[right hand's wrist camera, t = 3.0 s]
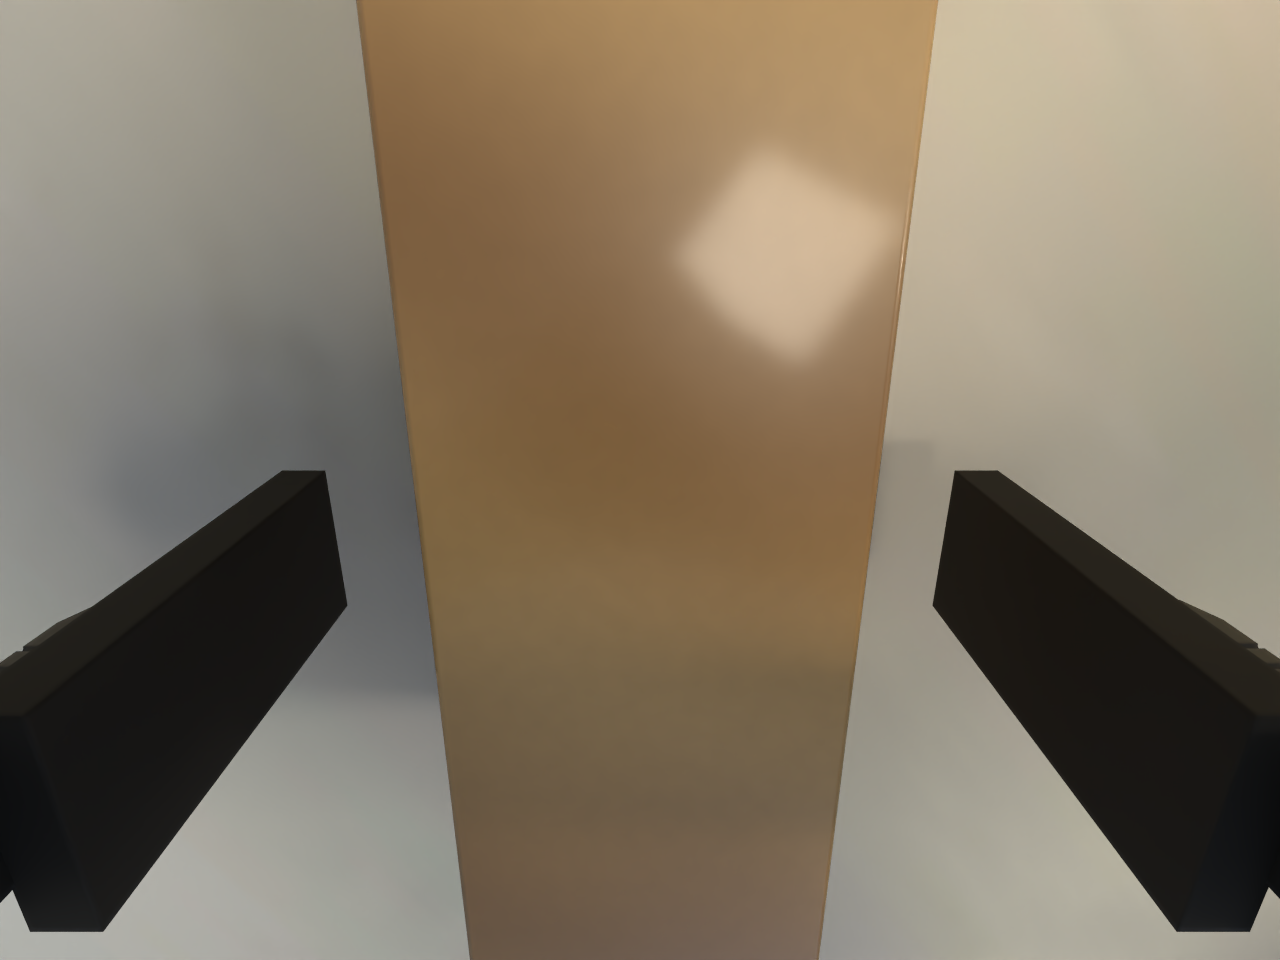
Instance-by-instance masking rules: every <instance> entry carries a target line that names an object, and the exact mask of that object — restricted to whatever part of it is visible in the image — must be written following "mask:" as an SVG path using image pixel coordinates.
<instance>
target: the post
mask: <svg viewBox="0 0 1280 960" xmlns="http://www.w3.org/2000/svg"><path fill="white" fill-rule="evenodd" d="M356 3H357V12H358V20H359V28H360V37H361V45H362V54H363V62H364V70H365V79H366V87H367V96H368V104H369V113H370V121H371V129H372V138H373V146H374V155H375V163H376V172H377V180H378V188H379V197H380V205H381V214H382V222H383V230H384V239H385V247H386V256H387V264H388V273H389V281H390V289H391V298H392V306H393V315H394V323H395V331H396V340H397V348H398V357H399V365H400V374H401V382H402V390H403V399H404V407H405V416H406V424H407V433H408V441H409V449H410V458H411V466H412V475H413V483H414V491H415V500H416V508H417V517H418V525H419V534H420V542H421V550H422V559H423V567H424V576H425V584H426V593H427V601H428V609H429V618H430V626H431V635H432V643H433V651H434V660H435V668H436V677H437V685H438V694H439V702H440V710H441V719H442V727H443V736H444V744H445V752H446V761H447V769H448V778H449V786H450V795H451V803H452V811H453V820H454V828H455V837H456V845H457V854H458V862H459V870H460V879H461V887H462V896H463V904H464V912H465V921H466V929H467V938H468V946H469V955H470V960H819V952H820V944H821V936H822V928H823V920H824V912H825V904H826V896H827V888H828V880H829V872H830V864H831V856H832V848H833V840H834V832H835V824H836V816H837V808H838V800H839V792H840V784H841V776H842V768H843V760H844V751H845V743H846V735H847V727H848V719H849V711H850V703H851V695H852V687H853V679H854V671H855V663H856V655H857V647H858V639H859V631H860V623H861V615H862V607H863V599H864V591H865V583H866V575H867V567H868V559H869V551H870V543H871V535H872V527H873V519H874V511H875V503H876V495H877V487H878V479H879V471H880V463H881V455H882V447H883V439H884V431H885V423H886V415H887V407H888V399H889V391H890V383H891V375H892V367H893V358H894V350H895V342H896V334H897V326H898V318H899V310H900V302H901V294H902V286H903V278H904V270H905V262H906V254H907V246H908V238H909V230H910V222H911V214H912V206H913V198H914V190H915V182H916V174H917V166H918V158H919V150H920V142H921V134H922V126H923V118H924V110H925V102H926V94H927V86H928V78H929V70H930V62H931V54H932V46H933V38H934V30H935V22H936V14H937V6H938V0H356Z"/></svg>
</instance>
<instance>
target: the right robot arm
mask: <svg viewBox="0 0 1280 960" xmlns="http://www.w3.org/2000/svg"><path fill="white" fill-rule="evenodd" d="M346 607H347V600H346V594H345V588H344V582H343V576H342V570H341V564H340V558H339V552H338V546H337V540H336V534H335V528H334V522H333V515H332V509H331V503H330V497H329V491H328V485H327V479H326V473H325V471H281V472H280V473H278V474H277V475H276V476H274V477H273V478H271V479H270V480H269V481H267V482H266V483H264V484H263V485H262V486H260V487H259V488H257V489H256V490H255V491H253V492H252V493H250V494H249V495H248V496H246V497H245V498H243V499H242V500H241V501H239V502H238V503H236V504H235V505H234V506H232V507H231V508H229V509H228V510H227V511H225V512H224V513H222V514H221V515H220V516H218V517H217V518H215V519H214V520H213V521H211V522H210V523H208V524H207V525H206V526H204V527H203V528H201V529H200V530H199V531H197V532H196V533H194V534H193V535H192V536H190V537H189V538H187V539H186V540H185V541H183V542H182V543H180V544H179V545H178V546H176V547H175V548H174V549H172V550H171V551H169V552H168V553H167V554H165V555H164V556H162V557H161V558H160V559H158V560H157V561H155V562H154V563H153V564H151V565H150V566H148V567H147V568H146V569H144V570H143V571H141V572H140V573H139V574H137V575H136V576H134V577H133V578H132V579H130V580H129V581H127V582H126V583H125V584H123V585H122V586H120V587H119V588H118V589H116V590H115V591H113V592H112V593H111V594H109V595H108V596H106V597H105V598H104V599H102V600H101V601H99V602H98V603H97V604H95V605H94V606H92V607H91V608H88V609H86V610H84V611H82V612H80V613H78V614H75V615H73V616H71V617H69V618H67V619H65V620H62V621H60V622H58V623H56V624H55V625H53V626H52V627H51V628H49V629H48V630H46V631H45V632H43V633H42V634H41V635H39V636H38V637H36V638H35V639H33V640H32V641H31V642H29V643H28V644H26V645H25V646H23V651H16V652H15V653H13V654H12V655H11V656H9V657H8V658H6V659H5V660H4V661H2V662H1V663H0V903H1V902H2V900H3V899H4V898H5V897H6V896H7V895H8V894H9V893H10V892H11V891H12V890H13V892H14V894H15V897H16V899H17V902H18V904H19V906H20V909H21V911H22V913H23V916H24V918H25V921H26V923H27V925H28V928H29V930H30V932H103V931H104V930H105V929H106V927H107V926H108V925H109V923H110V922H111V921H112V919H113V918H114V917H115V915H116V914H117V913H118V911H119V910H120V909H121V907H122V906H123V905H124V903H125V902H126V901H127V899H128V898H129V897H130V895H131V894H132V893H133V891H134V890H135V889H136V887H137V886H138V885H139V883H140V882H141V880H142V879H143V878H144V876H145V875H146V874H147V872H148V871H149V870H150V868H151V867H152V866H153V864H154V863H155V862H156V860H157V859H158V858H159V856H160V855H161V854H162V852H163V851H164V850H165V848H166V847H167V846H168V844H169V843H170V842H171V840H172V839H173V838H174V836H175V835H176V834H177V832H178V831H179V830H180V828H181V827H182V826H183V824H184V823H185V822H186V820H187V819H188V818H189V816H190V815H191V814H192V812H193V811H194V810H195V808H196V807H197V806H198V804H199V803H200V802H201V800H202V799H203V798H204V796H205V795H206V794H207V792H208V791H209V790H210V788H211V787H212V786H213V784H214V783H215V782H216V780H217V779H218V778H219V776H220V775H221V774H222V772H223V771H224V770H225V768H226V767H227V766H228V764H229V763H230V762H231V760H232V759H233V758H234V756H235V755H236V754H237V752H238V751H239V750H240V748H241V747H242V746H243V744H244V743H245V742H246V740H247V739H248V738H249V736H250V735H251V734H252V732H253V731H254V730H255V728H256V727H257V726H258V724H259V723H260V722H261V720H262V719H263V718H264V716H265V715H266V714H267V712H268V711H269V710H270V708H271V707H272V706H273V704H274V703H275V702H276V700H277V699H278V698H279V696H280V695H281V693H282V692H283V691H284V689H285V688H286V687H287V685H288V684H289V683H290V681H291V680H292V679H293V677H294V676H295V675H296V673H297V672H298V671H299V669H300V668H301V667H302V665H303V664H304V663H305V661H306V660H307V659H308V657H309V656H310V655H311V653H312V652H313V651H314V649H315V648H316V647H317V645H318V644H319V643H320V641H321V640H322V639H323V637H324V636H325V635H326V633H327V632H328V631H329V629H330V628H331V627H332V625H333V624H334V623H335V621H336V620H337V619H338V617H339V616H340V615H341V613H342V612H343V611H344V609H345V608H346ZM933 607H934V608H935V609H936V611H937V612H938V613H939V615H940V616H941V617H942V619H943V620H944V621H945V623H946V624H947V625H948V627H949V628H950V629H951V631H952V632H953V633H954V635H955V636H956V637H957V639H958V640H959V641H960V643H961V644H962V645H963V647H964V648H965V649H966V651H967V652H968V653H969V655H970V656H971V657H972V659H973V660H974V661H975V663H976V664H977V665H978V667H979V668H980V669H981V671H982V672H983V673H984V675H985V676H986V677H987V679H988V680H989V681H990V683H991V684H992V686H993V687H994V688H995V690H996V691H997V692H998V694H999V695H1000V696H1001V698H1002V699H1003V700H1004V702H1005V703H1006V704H1007V706H1008V707H1009V708H1010V710H1011V711H1012V712H1013V714H1014V715H1015V716H1016V718H1017V719H1018V720H1019V722H1020V723H1021V724H1022V726H1023V727H1024V728H1025V730H1026V731H1027V732H1028V734H1029V735H1030V736H1031V738H1032V739H1033V740H1034V742H1035V743H1036V744H1037V746H1038V747H1039V748H1040V750H1041V751H1042V752H1043V754H1044V755H1045V756H1046V758H1047V759H1048V760H1049V762H1050V763H1051V764H1052V766H1053V767H1054V768H1055V770H1056V771H1057V772H1058V774H1059V775H1060V776H1061V778H1062V779H1063V780H1064V782H1065V783H1066V784H1067V786H1068V787H1069V788H1070V790H1071V791H1072V792H1073V794H1074V795H1075V796H1076V798H1077V799H1078V800H1079V802H1080V803H1081V804H1082V806H1083V807H1084V808H1085V810H1086V811H1087V812H1088V814H1089V815H1090V816H1091V818H1092V819H1093V820H1094V822H1095V823H1096V824H1097V826H1098V827H1099V828H1100V830H1101V831H1102V832H1103V834H1104V835H1105V836H1106V838H1107V839H1108V840H1109V842H1110V843H1111V844H1112V846H1113V847H1114V848H1115V850H1116V851H1117V852H1118V854H1119V855H1120V856H1121V858H1122V859H1123V860H1124V862H1125V863H1126V864H1127V866H1128V867H1129V869H1130V870H1131V871H1132V873H1133V874H1134V875H1135V877H1136V878H1137V879H1138V881H1139V882H1140V883H1141V885H1142V886H1143V887H1144V889H1145V890H1146V891H1147V893H1148V894H1149V895H1150V897H1151V898H1152V899H1153V901H1154V902H1155V903H1156V905H1157V906H1158V907H1159V909H1160V910H1161V911H1162V913H1163V914H1164V915H1165V917H1166V918H1167V919H1168V921H1169V922H1170V923H1171V925H1172V926H1173V927H1174V929H1175V930H1176V931H1177V932H1250V930H1251V928H1252V925H1253V923H1254V921H1255V918H1256V916H1257V913H1258V911H1259V909H1260V906H1261V904H1262V902H1263V899H1264V897H1265V894H1266V892H1267V890H1268V887H1269V888H1270V889H1271V890H1272V891H1273V892H1274V893H1275V894H1276V895H1277V896H1278V897H1279V898H1280V659H1279V658H1277V657H1276V656H1275V655H1273V654H1272V653H1270V652H1269V651H1267V650H1266V649H1259V648H1258V644H1257V643H1256V642H1254V641H1253V640H1252V639H1250V638H1249V637H1247V636H1246V635H1244V634H1243V633H1241V632H1240V631H1239V630H1237V629H1236V628H1234V627H1233V626H1231V625H1230V624H1228V623H1227V622H1226V621H1224V620H1222V619H1220V618H1218V617H1216V616H1214V615H1211V614H1209V613H1207V612H1205V611H1203V610H1200V609H1198V608H1196V607H1194V606H1192V605H1189V604H1187V603H1185V602H1183V601H1181V600H1178V599H1176V598H1175V597H1174V596H1172V595H1171V594H1169V593H1168V592H1167V591H1165V590H1164V589H1162V588H1161V587H1160V586H1158V585H1157V584H1155V583H1154V582H1153V581H1151V580H1150V579H1148V578H1147V577H1146V576H1144V575H1143V574H1141V573H1140V572H1139V571H1137V570H1136V569H1134V568H1133V567H1132V566H1130V565H1129V564H1127V563H1126V562H1125V561H1123V560H1122V559H1120V558H1119V557H1118V556H1116V555H1115V554H1113V553H1112V552H1111V551H1109V550H1108V549H1106V548H1105V547H1104V546H1102V545H1101V544H1099V543H1098V542H1097V541H1095V540H1094V539H1092V538H1091V537H1090V536H1088V535H1087V534H1086V533H1084V532H1083V531H1081V530H1080V529H1079V528H1077V527H1076V526H1074V525H1073V524H1072V523H1070V522H1069V521H1067V520H1066V519H1065V518H1063V517H1062V516H1060V515H1059V514H1058V513H1056V512H1055V511H1053V510H1052V509H1051V508H1049V507H1048V506H1046V505H1045V504H1044V503H1042V502H1041V501H1039V500H1038V499H1037V498H1035V497H1034V496H1032V495H1031V494H1030V493H1028V492H1027V491H1025V490H1024V489H1023V488H1021V487H1020V486H1018V485H1017V484H1016V483H1014V482H1013V481H1011V480H1010V479H1009V478H1007V477H1006V476H1004V475H1003V474H1002V473H1000V472H999V471H955V473H954V479H953V485H952V491H951V497H950V503H949V509H948V515H947V521H946V527H945V534H944V540H943V546H942V552H941V558H940V564H939V570H938V576H937V582H936V588H935V594H934V600H933Z"/></svg>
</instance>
